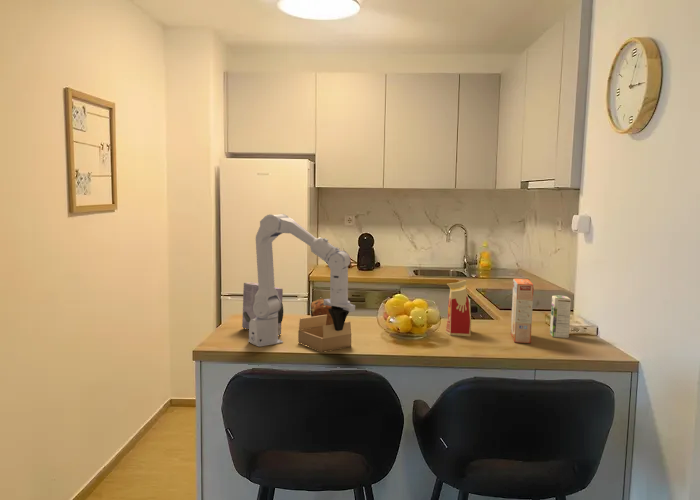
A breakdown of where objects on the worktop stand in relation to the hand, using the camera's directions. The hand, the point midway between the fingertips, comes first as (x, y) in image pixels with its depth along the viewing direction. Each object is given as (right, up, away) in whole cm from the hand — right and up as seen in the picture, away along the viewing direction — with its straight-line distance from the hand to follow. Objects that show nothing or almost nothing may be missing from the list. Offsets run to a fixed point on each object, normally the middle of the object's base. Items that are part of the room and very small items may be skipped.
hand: (338, 330), depth 179 cm
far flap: (-9, +1, +12) cm, 15 cm away
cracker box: (+65, -6, +18) cm, 68 cm away
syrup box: (+80, -6, +23) cm, 84 cm away
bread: (-7, -4, +37) cm, 38 cm away
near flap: (-1, 0, +1) cm, 1 cm away
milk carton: (+44, -5, +26) cm, 51 cm away
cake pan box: (-29, -5, +23) cm, 37 cm away
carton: (-5, -6, +7) cm, 10 cm away
